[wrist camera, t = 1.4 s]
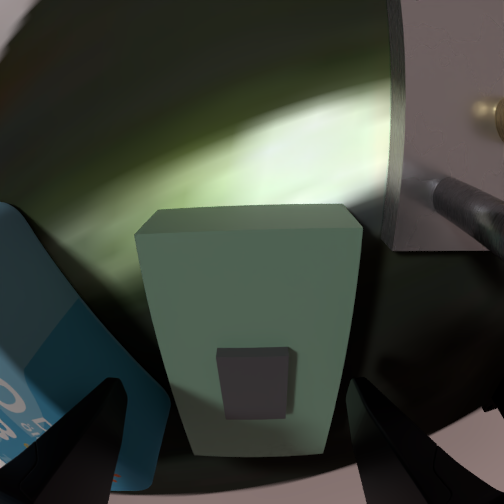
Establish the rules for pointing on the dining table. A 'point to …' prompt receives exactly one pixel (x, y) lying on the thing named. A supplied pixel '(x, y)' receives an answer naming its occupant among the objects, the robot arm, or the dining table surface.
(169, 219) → the board
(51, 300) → the data package
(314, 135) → the dining table surface
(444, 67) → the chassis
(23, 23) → the dining table surface
